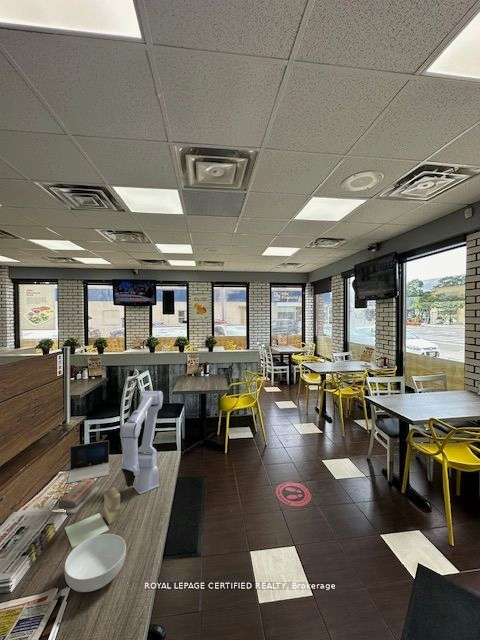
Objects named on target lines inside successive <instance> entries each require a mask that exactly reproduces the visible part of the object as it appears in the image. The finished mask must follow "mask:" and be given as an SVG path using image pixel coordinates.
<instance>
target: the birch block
mask: <svg viewBox="0 0 480 640" xmlns="http://www.w3.org/2000/svg"><path fill="white" fill-rule="evenodd" d="M103 495H104V503H103V505H104V508H103V511H104V513H103V515H104V516H103V517H104V519H105V520H106V522H107V523H108V525H112V524H114V523H116V522H119V521H120V520H121V493H120V492H119V491H118V489H116V487H112V488H110V489H108V490H104V493H103Z"/></svg>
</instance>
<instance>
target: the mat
mask: <svg viewBox="0 0 480 640" xmlns="http://www.w3.org/2000/svg"><path fill="white" fill-rule="evenodd" d="M64 531H65V532H66V535H67V539H68V540H69V544H70V546H71V548H72V549H74V548H75V547H76V546H78V545H79V544H80V543H82V542H83V541H85V540H87V539H89V538H91V537H94V536H97V535H102V534H106V533H107V532H109V531H110V529H109V527H108V525H107V524H106V522H105V520H104V519H103V517H102V515H101V513H99V512H97V513H95V514H94V515H91V516H89V517H87V518H84V519H82V520H80V521H76V522H75V523H72V524H70V525H68V526H66V527H64Z"/></svg>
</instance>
